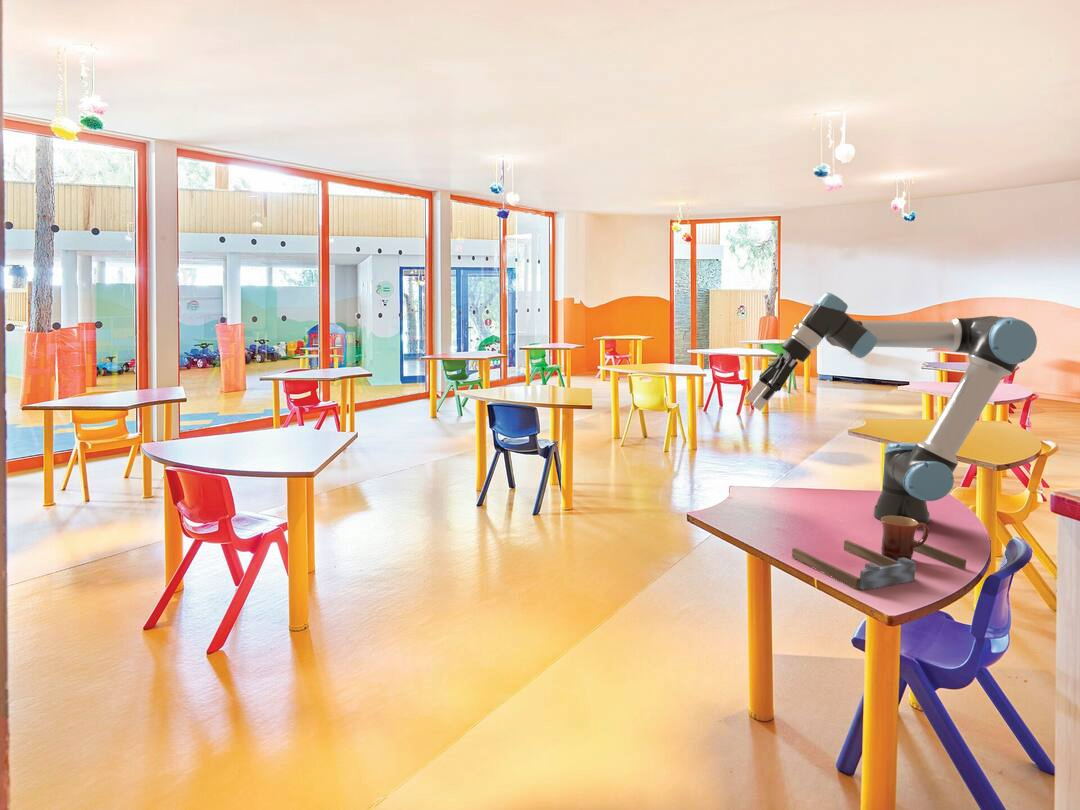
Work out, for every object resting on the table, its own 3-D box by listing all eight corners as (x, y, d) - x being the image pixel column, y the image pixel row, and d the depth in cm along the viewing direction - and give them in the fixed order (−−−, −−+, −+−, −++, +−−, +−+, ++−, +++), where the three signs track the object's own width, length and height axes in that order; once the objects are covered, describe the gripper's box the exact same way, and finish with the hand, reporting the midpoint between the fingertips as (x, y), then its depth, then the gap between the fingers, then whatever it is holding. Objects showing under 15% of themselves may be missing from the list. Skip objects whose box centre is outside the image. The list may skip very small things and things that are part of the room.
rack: (895, 541, 214) (896, 522, 213) (971, 571, 192) (973, 550, 191) (791, 557, 201) (793, 537, 200) (861, 592, 179) (863, 569, 178)
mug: (887, 565, 196) (890, 526, 194) (871, 553, 204) (874, 515, 203) (934, 565, 196) (938, 526, 194) (916, 553, 205) (920, 515, 203)
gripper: (781, 332, 228) (735, 390, 232) (799, 338, 204) (748, 403, 208) (801, 347, 228) (755, 405, 232) (822, 355, 204) (770, 419, 208)
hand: (751, 404), depth 220 cm, fingers open, 13 cm apart
